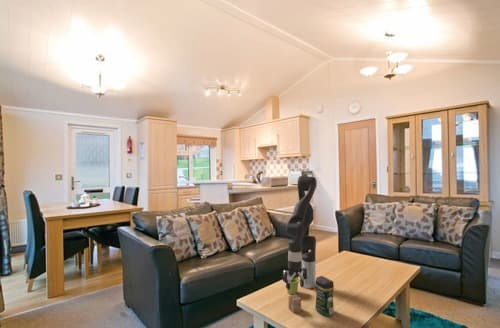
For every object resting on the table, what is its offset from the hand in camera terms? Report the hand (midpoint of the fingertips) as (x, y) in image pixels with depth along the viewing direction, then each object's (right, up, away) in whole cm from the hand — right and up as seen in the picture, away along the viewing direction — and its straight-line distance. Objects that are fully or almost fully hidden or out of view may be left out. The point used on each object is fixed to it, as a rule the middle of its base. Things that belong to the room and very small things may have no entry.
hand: (294, 288), depth 151 cm
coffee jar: (+16, -13, -2) cm, 20 cm away
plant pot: (+1, -12, +20) cm, 24 cm away
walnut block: (0, -12, 0) cm, 12 cm away
